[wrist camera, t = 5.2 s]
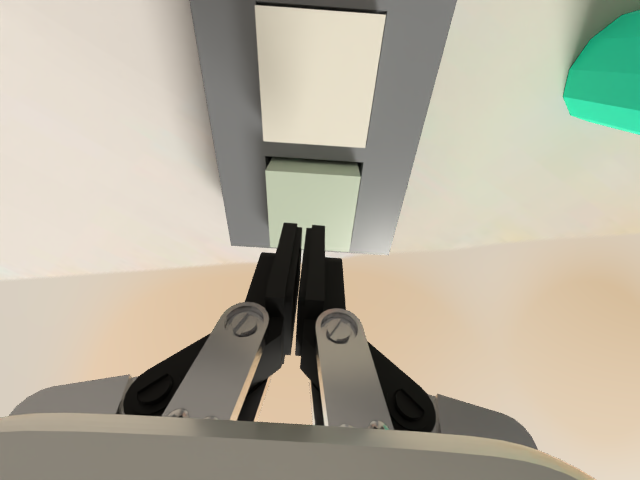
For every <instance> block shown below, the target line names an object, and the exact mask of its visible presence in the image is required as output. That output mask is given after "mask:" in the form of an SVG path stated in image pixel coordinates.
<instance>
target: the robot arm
mask: <svg viewBox="0 0 640 480" xmlns="http://www.w3.org/2000/svg"><path fill="white" fill-rule="evenodd" d="M301 245H302V227H297V223H285V222H284V224H283V228H282V231H281V235H280V239H279V243H278V247H277V251H276V253H263V252H262V253H261V255H260V258H259V261H258V264H257V267H256V270H255V273H254V276H253V279H252V282H251V285H250V288H249V291H248V294H247V297H246V300H245V302H243V303H238V304H236V305H233V306H231V307H230V308H229V309H227V310H226V311H225V312H224V314H223V315H222V316H221V317H220V319H219V321H218V322H217V324H216V326H215V328H214V329H213V331H212V332H211V333H210V334H209V335H207V336H205V337H203V338H202V339H200V340H198V341H197V342H195V343H193V344H191V345H190V346H188V347H186V348H184V349H183V350H181V351H179V352H178V353H176V354H174V355H173V356H171V357H169V358H167V359H166V360H164V361H162V362H161V363H159V364H157V365H155V366H154V367H152V368H150V369H148V370H147V371H146V372H144V373H143V374H141V375H140V376H139V377H133V378H132V377H131V376H130V375H124V376H117V377H111V378H105V379H98V380H92V381H85V382H79V383H73V384H66V385H60V386H53V387H50V388H46V389H43V390H40V391H39V392H37V393H35V394H33V395H31V396H29V397H28V398H26V399H25V400H24V401H23V402H21V403H20V404H19V405H18V406H16V408H15V409H14V410H13V411H12V412H11V414H10V415H9V416H7V417H1V418H0V480H596V479H595V478H593V477H591V476H590V475H588V474H587V473H585V472H583V471H582V470H580V469H578V468H576V467H574V466H572V465H570V464H568V463H566V462H564V461H563V460H561V459H559V458H556V457H554V456H551V455H549V454H547V453H544V452H542V451H539V450H538V449H537V447H536V445H535V443H534V441H533V438H532V437H531V435H530V434H529V433H528V432H527V430H526V429H525V428H524V427H523V426H522V425H521V424H520V423H518V422H517V421H516V420H515V419H513V418H511V417H509V416H507V415H505V414H502V413H499V412H496V411H492V410H489V409H486V408H483V407H479V406H475V405H473V404H469V403H466V402H463V401H459V400H456V399H453V398H449V397H446V396H443V395H440V394H437V395H436V396H432V395H428V394H427V393H426V392H425V391H424V390H423V389H422V388H421V387H420V386H419V385H418V384H416V383H415V382H414V381H413V380H412V379H411V378H410V377H408V376H407V375H406V374H405V373H404V372H403V371H401V370H400V369H399V368H398V367H397V366H396V365H394V364H393V363H392V362H391V361H390V360H389V359H387V358H386V357H385V356H384V355H383V354H382V353H380V352H379V351H378V350H377V349H376V348H375V347H373V346H372V345H371V344H370V343H369V342H368V341H367V339H366V336H365V333H364V329H363V326H362V324H361V322H360V320H359V319H358V318H357V317H356V316H355V315H354V314H353V313H351V312H350V311H347V310H346V307H345V294H344V281H343V268H342V259H340V258H328V257H325V226H322V225H312V228H306V236H305V244H304V253H303V261H302V270H301V278H300V264H301ZM299 281H300V287H299ZM298 290H299V296H298ZM297 298H298V311H297V312H298V313H297V332H296V351H295V355H296V356H301V365H300V369H301V370H302V371H303V372H304V373H305V375H306V376H307V377H308V378H309V386H310V398H311V409H312V420H313V425H302V424H284V423H268V422H257V421H258V418H259V415H260V412H261V409H262V406H263V402H264V400H265V396H266V393H267V390H268V387H269V384H270V380H271V375H272V374H273V373H275V372H276V371H277V370H278V369H280V368H281V366H282V364H284V357H285V355H291V347H292V340H293V331H294V323H295V314H296V305H297Z"/></svg>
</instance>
